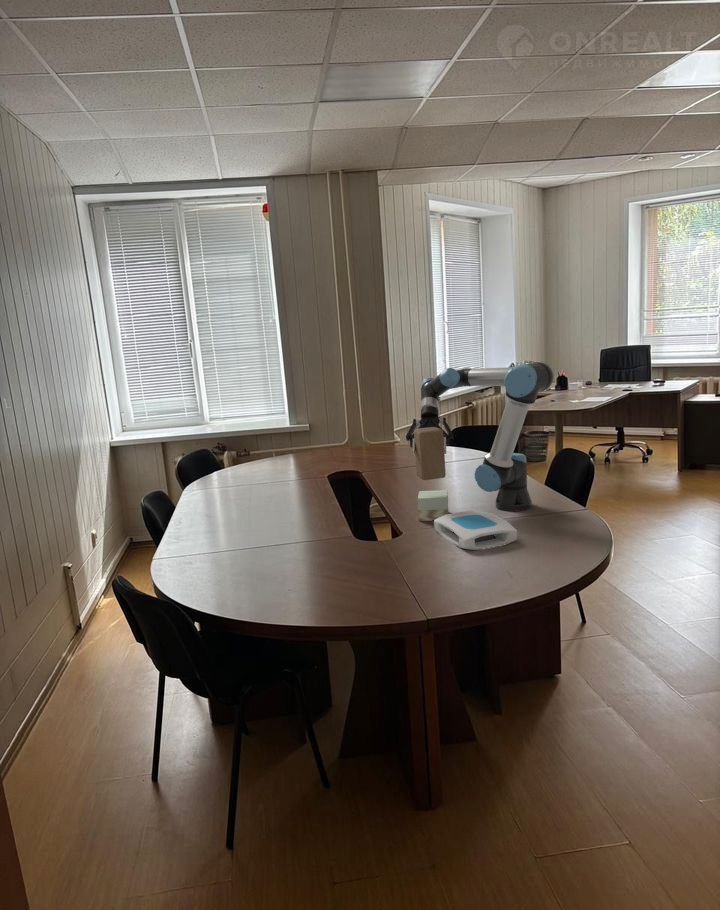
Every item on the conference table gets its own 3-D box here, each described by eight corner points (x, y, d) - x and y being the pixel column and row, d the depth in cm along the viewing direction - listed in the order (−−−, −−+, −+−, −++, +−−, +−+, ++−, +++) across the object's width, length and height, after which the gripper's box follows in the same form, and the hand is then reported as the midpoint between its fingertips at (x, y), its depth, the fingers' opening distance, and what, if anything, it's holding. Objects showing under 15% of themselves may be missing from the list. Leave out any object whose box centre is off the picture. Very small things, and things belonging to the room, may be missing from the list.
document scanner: (465, 553, 233) (464, 536, 232) (433, 531, 259) (432, 516, 258) (518, 543, 239) (518, 526, 237) (482, 522, 265) (481, 507, 264)
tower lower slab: (448, 512, 283) (447, 501, 282) (447, 520, 271) (447, 509, 270) (420, 513, 285) (419, 502, 284) (418, 521, 273) (417, 510, 272)
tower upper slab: (448, 501, 282) (447, 490, 281) (447, 509, 270) (447, 497, 269) (419, 502, 284) (419, 491, 283) (418, 510, 272) (417, 498, 271)
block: (446, 478, 269) (443, 429, 265) (422, 481, 267) (419, 432, 263) (438, 472, 279) (436, 426, 275) (416, 475, 277) (413, 428, 273)
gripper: (458, 414, 283) (460, 456, 271) (402, 417, 287) (400, 458, 275) (458, 403, 277) (459, 446, 265) (400, 406, 281) (398, 448, 269)
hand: (429, 452), depth 270 cm, fingers closed on block, 12 cm apart
